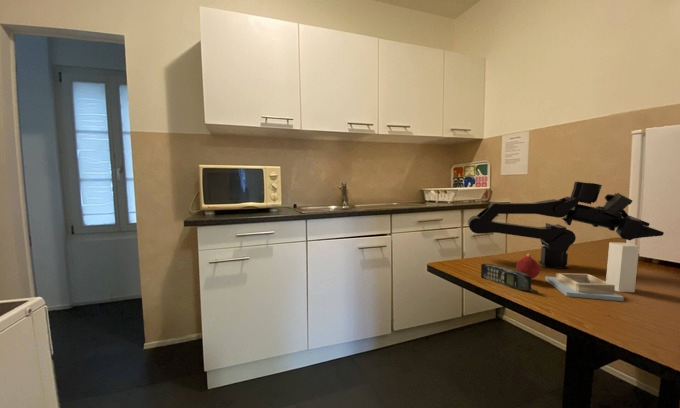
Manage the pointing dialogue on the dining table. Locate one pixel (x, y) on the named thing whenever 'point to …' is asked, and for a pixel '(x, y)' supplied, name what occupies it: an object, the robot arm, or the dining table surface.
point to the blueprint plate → (574, 293)
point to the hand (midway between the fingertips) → (655, 229)
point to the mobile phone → (507, 277)
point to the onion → (528, 266)
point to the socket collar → (595, 286)
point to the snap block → (622, 266)
